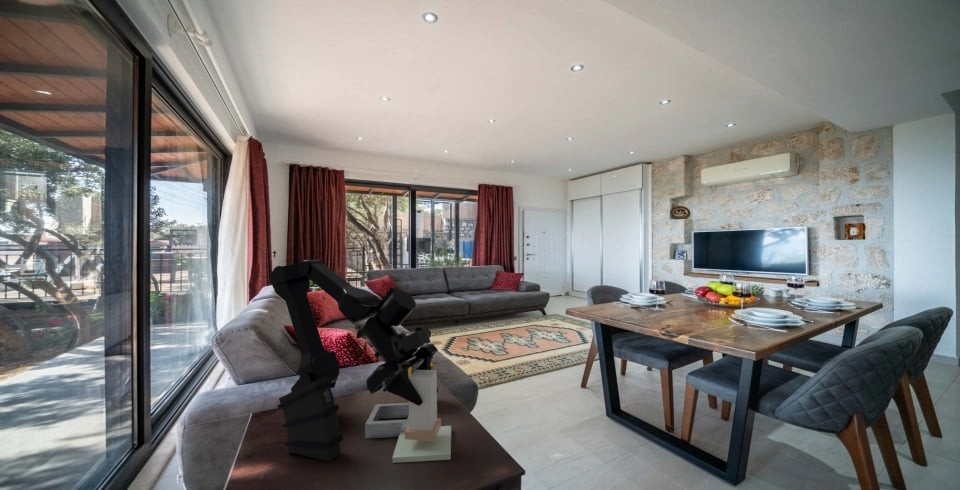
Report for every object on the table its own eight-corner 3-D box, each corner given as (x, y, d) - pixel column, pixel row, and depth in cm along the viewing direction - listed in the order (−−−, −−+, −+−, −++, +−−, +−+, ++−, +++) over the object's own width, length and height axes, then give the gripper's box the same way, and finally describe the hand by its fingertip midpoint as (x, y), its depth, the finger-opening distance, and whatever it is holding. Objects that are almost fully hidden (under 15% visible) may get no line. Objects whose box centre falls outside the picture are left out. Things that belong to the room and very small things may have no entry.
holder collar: (365, 438, 73) (365, 424, 73) (375, 416, 83) (375, 404, 83) (412, 435, 74) (411, 421, 74) (417, 414, 84) (416, 402, 84)
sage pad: (392, 463, 64) (392, 457, 64) (401, 432, 75) (401, 428, 75) (450, 459, 65) (450, 454, 65) (451, 430, 76) (451, 425, 76)
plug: (404, 439, 68) (404, 378, 68) (414, 424, 74) (413, 368, 74) (434, 440, 67) (433, 379, 67) (441, 425, 73) (440, 369, 73)
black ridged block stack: (341, 457, 64) (314, 380, 66) (293, 476, 67) (269, 402, 70) (355, 446, 67) (329, 374, 70) (308, 464, 71) (285, 395, 73)
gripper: (377, 323, 64) (428, 391, 59) (430, 309, 81) (472, 360, 76) (346, 361, 67) (391, 428, 62) (403, 339, 84) (442, 390, 79)
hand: (429, 398), depth 70 cm, fingers closed on plug, 6 cm apart
